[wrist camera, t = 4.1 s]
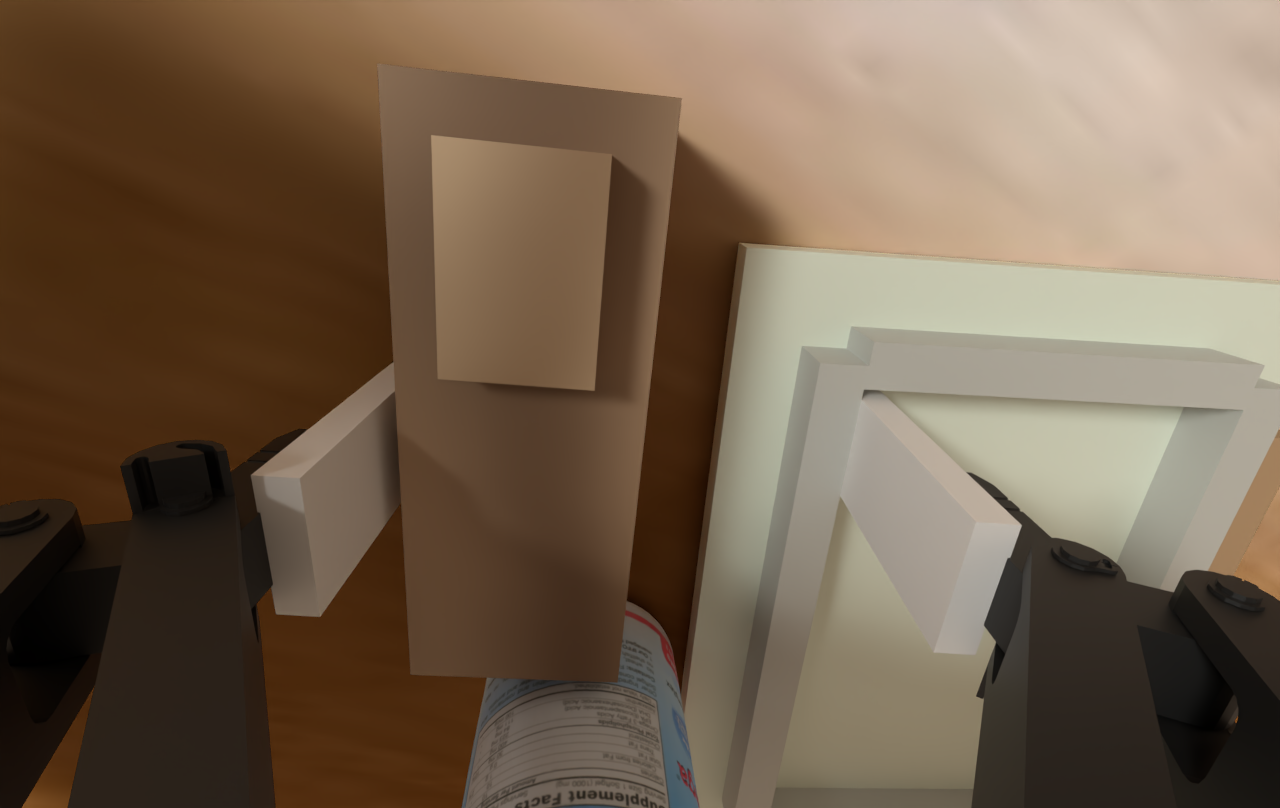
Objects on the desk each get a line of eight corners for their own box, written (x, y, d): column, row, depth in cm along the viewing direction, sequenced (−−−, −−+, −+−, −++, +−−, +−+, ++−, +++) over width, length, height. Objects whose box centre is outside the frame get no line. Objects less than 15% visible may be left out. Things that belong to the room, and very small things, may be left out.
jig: (665, 815, 24) (670, 886, 21) (738, 242, 16) (761, 256, 13) (1050, 817, 25) (1095, 884, 23) (1303, 282, 17) (1414, 301, 15)
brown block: (458, 551, 19) (396, 709, 14) (451, 96, 14) (352, 52, 9) (615, 559, 20) (617, 717, 14) (659, 119, 15) (688, 91, 9)
